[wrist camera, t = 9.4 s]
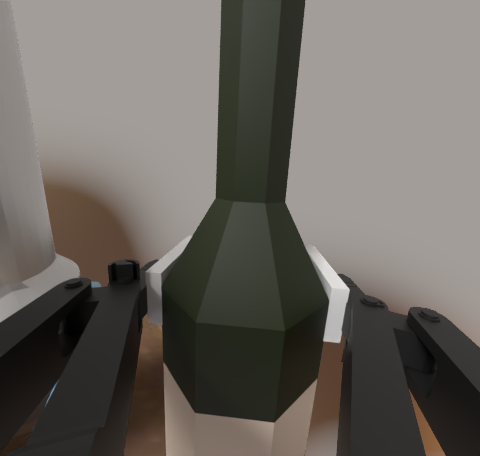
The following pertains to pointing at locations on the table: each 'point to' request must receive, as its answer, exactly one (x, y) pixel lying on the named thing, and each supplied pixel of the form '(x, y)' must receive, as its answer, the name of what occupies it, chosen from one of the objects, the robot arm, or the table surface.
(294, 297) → the wine bottle
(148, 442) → the table surface
